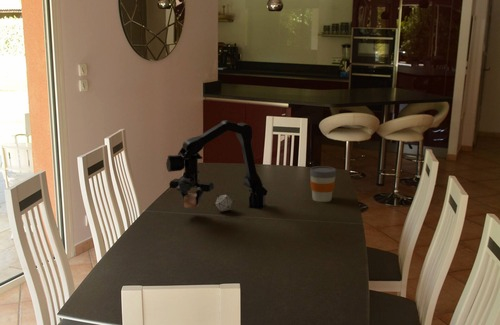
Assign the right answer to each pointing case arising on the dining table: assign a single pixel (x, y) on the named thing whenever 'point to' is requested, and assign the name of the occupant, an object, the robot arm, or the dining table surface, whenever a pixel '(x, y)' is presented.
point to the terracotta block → (190, 201)
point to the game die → (223, 202)
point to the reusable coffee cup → (322, 183)
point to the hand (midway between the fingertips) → (191, 203)
